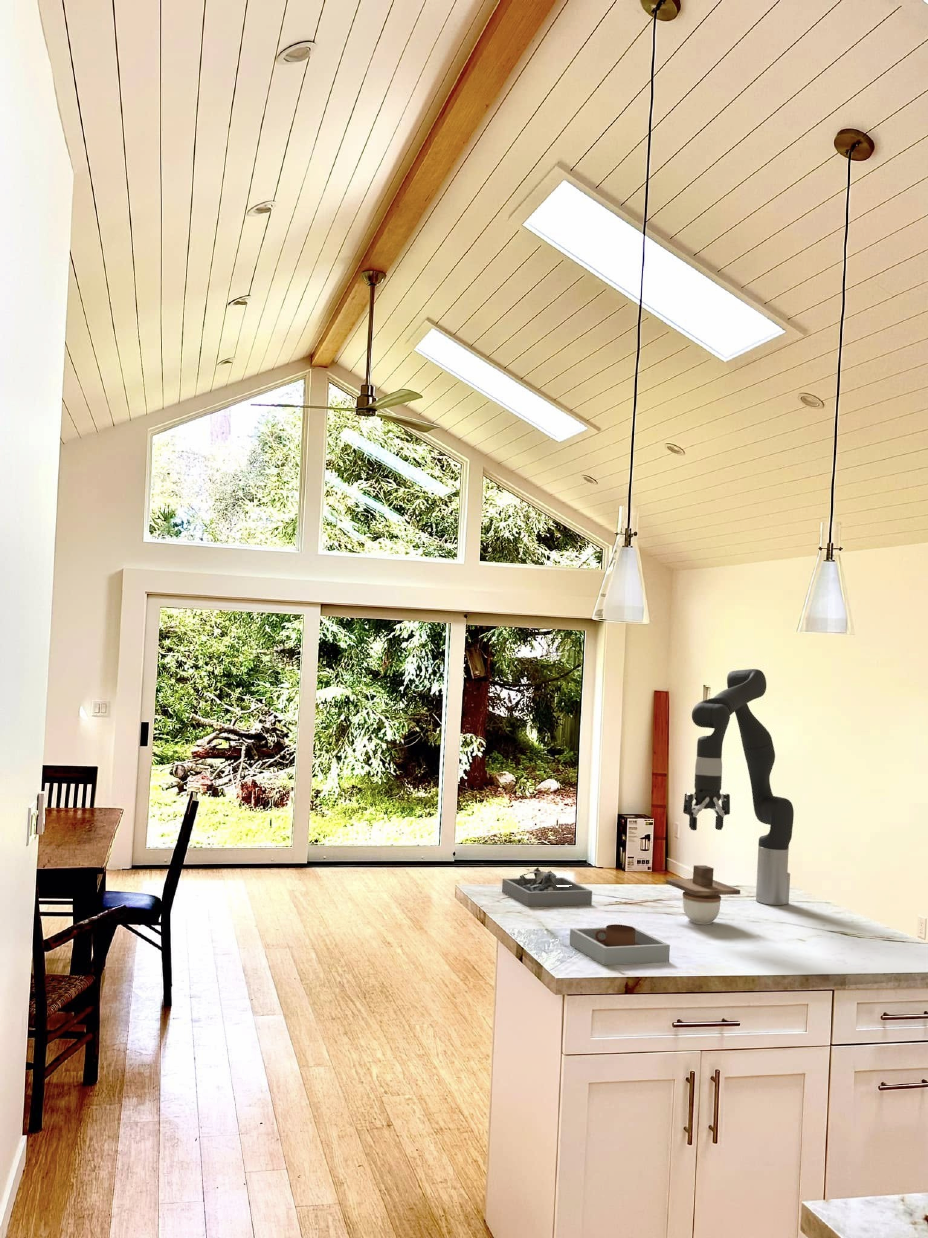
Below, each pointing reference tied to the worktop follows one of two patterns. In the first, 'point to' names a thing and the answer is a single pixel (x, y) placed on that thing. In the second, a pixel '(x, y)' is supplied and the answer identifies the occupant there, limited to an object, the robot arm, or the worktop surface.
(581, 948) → the grey square tray
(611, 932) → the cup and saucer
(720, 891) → the walnut lid
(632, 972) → the worktop surface
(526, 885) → the foil
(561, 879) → the foil frame
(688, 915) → the lidded jar
